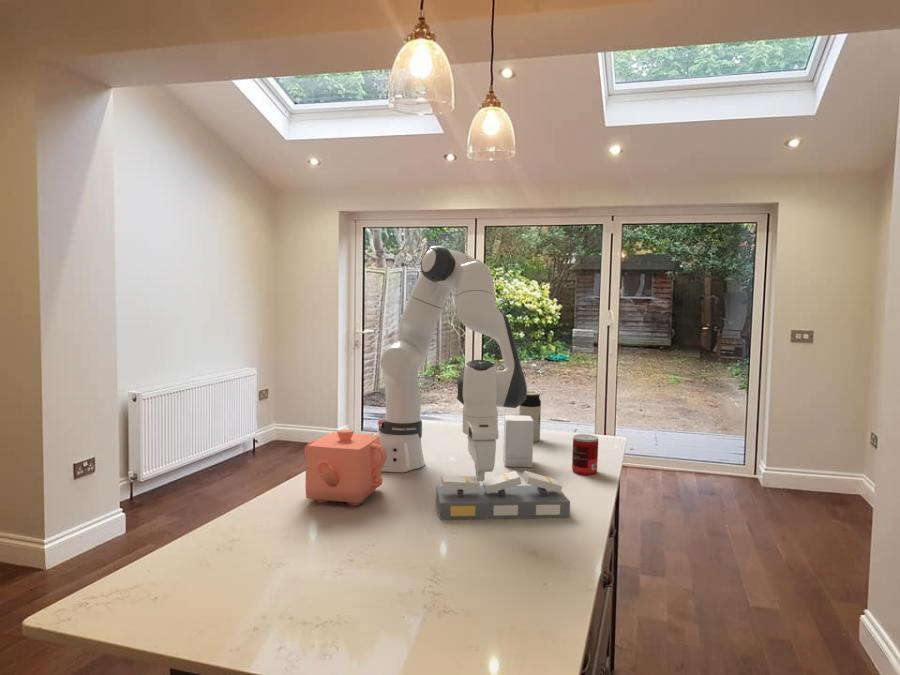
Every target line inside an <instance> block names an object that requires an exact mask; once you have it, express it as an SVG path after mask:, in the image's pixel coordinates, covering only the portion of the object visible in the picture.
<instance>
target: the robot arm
mask: <svg viewBox="0 0 900 675" xmlns="http://www.w3.org/2000/svg"><path fill="white" fill-rule="evenodd" d="M420 271H421V273H420V274H419V276H418V278H417V279H416V281H415V283H414V285H413V288H412V290H411V292H410V295H409V297H408V299H407V301H406V305H405V307H404V309H403V312H402V315H401V318H400V322H399V324H400V325H399V327H398V332H397V337H396V338H395V341H394V343H393V344H391V345H389V346H387V347H386V349H385V350H384V351H383V353H382V356H381V358H380V367H381V369H382V377H383V378H382V379H383V385H384V392H385V393H384V394H385V419H383V418H379V419H378V420H377V425H378V432H376V433H375V434H374V435H379V436H380V443H381V446H382V447H383V448H384V450H385V451H386V455H387V457H386V461H385V463H384V465H383V467H382V468H381V472H385V473H386V472H387V473H388V472H389V473H406V472H407V473H408V472H409V471H411V470H416V469H417V470H418V469H419V468H422V467H424V466H425V465H426V461H425V458H424V453H423V447H422V436H423V423H422V422H423V421H422V419H421V415H422V412H421V410H422V407H421V406H422V397H421V396H422V395H421V394H422V393H421V391H420V383H419V371H420V370H421V369H422V368H423V366H424V363H425V361H426V358H427V355H428V353H429V349H430V346H431V342H432V340H433V335H434V333H435V330H436V328H437V325H438V322H439V320H440V318H441V315H442V312H443V309H444V307H445V304H446V302H447V299H448V296H449V294H451V293H452V292H454V291H455V311H456V312H455V313H456V316H457V319H458V320H459V321H460V323H461V324H462V325H463V326H465V327H466V328H467V329H469V330H471V331H473V332H475V333H479V334H482V335H484V336H487V337H489V338H491V339H493V340H494V341H496V343H497V344H498V346H499V349H500V352H501V358H502V361H503V365H504V369H499V370H497V368H496V365H495V363H494V362H492V361H489V360H486V359H474V360H470V361H468V362H467V363H465V365H464V371H463V372H462V373H461V374H459V376H458V377H457V378H456V384H457V386H456V387H457V396H456V400H458V401H459V402H460V403H461V404H462V405H463V410H462V433H463V434H464V435H467V439H468V440H467V441H468V442H467V449H468V453H469V455H470V457H471V459H472V461H473V462H474V469H475V476H476V478H477V480H478V481H479V482H482V481H484V480H485V479H486V478H485V477H486V476H485V475H486V472H487V473H488V472H489V473H491V472H493V471H494V468H495V463H496V462H495V461H496V452H497V450H496V448H497V440H499V425H498V424H499V420H498V419H499V418H498V417H499V416H498V415H499V413H498V409H497V408H498V407H503V408H510V409H512V408H513V409H516V408H519V405H521V404H522V403H523V402H524V401H525V400H526V398H527V391H528V383H527V380H526V377H525V374H524V371H523V369H522V365H521V361H520V358H519V353H518V349H517V344H516V341H515V337H514V333H513V330H512V326H511V323H510V321H509V318H508V317H507V315H506V314H504V313H502V312H501V311H500V309H499V308H498V306H497V304H496V296H495V295H496V294H495V293H496V292H495V287H494V282H493V281H494V280H493V276H492V273H491V269H490V268H489V266H488V265H487V264H486V263H484V262H482V261H481V260H480V259H475V258H474V257H472V256H470V255H468V254H466V253H464V252H459V251H457V250H454V249H450V248H447V247H446V246H440V245H431V247H429V248H428V249H426V251H425V252H424V253H423V254H422V257H421V260H420Z"/></svg>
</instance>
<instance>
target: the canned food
mask: <svg viewBox="0 0 900 675" xmlns="http://www.w3.org/2000/svg"><path fill="white" fill-rule="evenodd" d="M571 455H572V458H571V459H572V462H571V469H572V472H573V473H574V474H577V475H581V476H593V475H596V474H597V473H598V472H597V471H598V462H599V461H598V460H599V456H598V455H599V437H598V436H597V435H594V434H586V433H585V434H584V433H582V434H580V433H579V434H575V435H573V437H572V454H571Z"/></svg>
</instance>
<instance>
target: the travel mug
mask: <svg viewBox="0 0 900 675" xmlns="http://www.w3.org/2000/svg"><path fill="white" fill-rule="evenodd" d="M540 395H541V392H539V391H536V390H527V398H526V400H525V401H524V402H523V403H522V404H521V405H519V406H518V416H531V418H532V419H533V421H534V429H533V443H536V442H538V441H540V440H541V416H542V414H541V413H542V410H541V408H542V401H541V399H540Z"/></svg>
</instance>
